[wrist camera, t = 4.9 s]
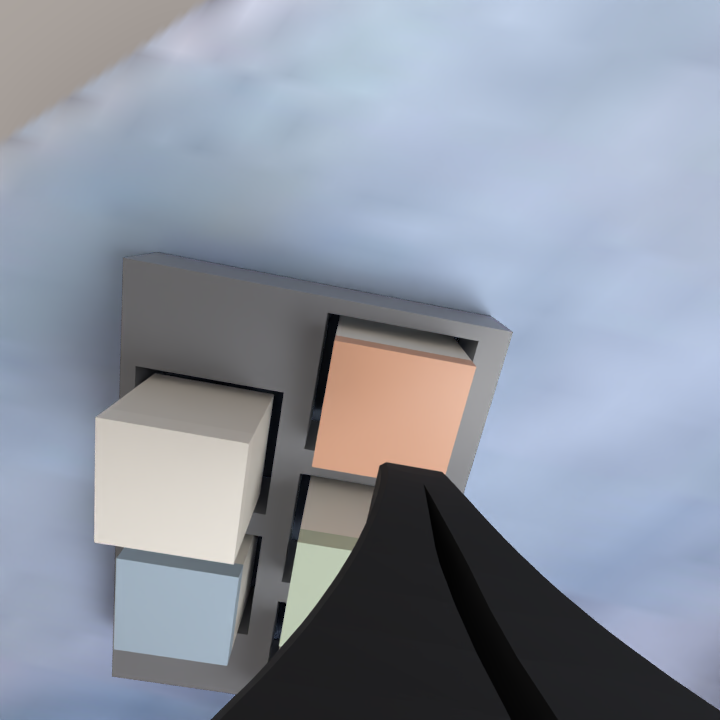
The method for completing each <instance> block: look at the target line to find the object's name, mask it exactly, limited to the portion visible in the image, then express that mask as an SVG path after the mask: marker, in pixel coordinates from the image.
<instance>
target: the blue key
mask: <svg viewBox="0 0 720 720" xmlns="http://www.w3.org/2000/svg"><path fill="white" fill-rule="evenodd" d="M257 541H258V536H256V535H250V534H245V535H244V538H243V541H242V543H241V546H240V549H239V551H238V554H237V557H236V559H235V562H234V565H233V564H227V563H221V562H214V561H208V560H202V559H195V558H189V557H183V556H176V555H170V554H164V553H157V552H151V551H145V550H138V549H132V548H126V547H124V549H123V550H122V551H121V553H120V554H119V555H118V557H117V558H116V587H115V624H114V649H115V650H122V651H129V652H136V653H143V654H149V655H156V656H163V657H170V658H177V659H184V660H191V661H197V662H204V663H211V664H218V665H225V666H227V664H228V661H229V658H230V655H231V651H232V648H233V645H234V641H235V638H236V635H237V632H238V628H239V625H240V622H241V619H242V615H243V612H244V609H245V605H246V602H247V599H248V596H249V592H250V589H251V582H252V575H253V569H254V562H255V555H256V548H257Z"/></svg>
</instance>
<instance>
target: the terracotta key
mask: <svg viewBox="0 0 720 720" xmlns="http://www.w3.org/2000/svg"><path fill="white" fill-rule="evenodd" d="M475 370H476V366H475V364H474V363H473V362H472V361H471V359H470V358H469V357H468V355H467V354H466V353H465V351H464V350H463V349H462V348H461V346H460V345H459V344H458V342H457V341H456V340H455V339H454V337H453V336H449V335H444V334H438V333H433V332H428V331H423V330H417V329H412V328H407V327H401V326H396V325H391V324H386V323H380V322H375V321H370V320H364V319H359V318H354V317H349V316H343V315H340V319H339V324H338V328H337V332H336V336H335V340H334V346H333V352H332V357H331V363H330V368H329V374H328V379H327V385H326V391H325V396H324V402H323V407H322V413H321V418H320V424H319V429H318V435H317V441H316V446H315V452H314V457H313V463H312V467H316V468H322V469H328V470H334V471H339V472H345V473H351V474H357V475H363V476H369V477H374V478H377V474H378V469H379V466H380V465H382V464H383V463H385V462H389V463H395V464H400V465H406V466H412V467H418V468H423V469H429V470H435V471H441V472H443V473H444V474H446V471H447V467H448V464H449V460H450V457H451V453H452V450H453V446H454V443H455V440H456V436H457V433H458V429H459V426H460V422H461V419H462V415H463V412H464V408H465V405H466V401H467V398H468V394H469V391H470V387H471V384H472V380H473V377H474V373H475Z"/></svg>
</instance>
